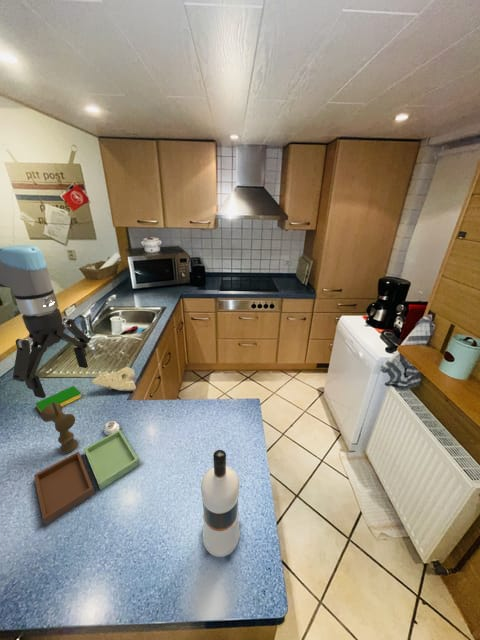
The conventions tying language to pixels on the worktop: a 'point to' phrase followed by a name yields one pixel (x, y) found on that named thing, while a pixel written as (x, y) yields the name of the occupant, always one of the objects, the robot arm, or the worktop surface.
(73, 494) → the walnut tray
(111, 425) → the white jar
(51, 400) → the dish sponge
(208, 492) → the vodka
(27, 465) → the worktop surface
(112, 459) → the green tray
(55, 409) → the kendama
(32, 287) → the robot arm
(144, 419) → the worktop surface
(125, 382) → the cheese
